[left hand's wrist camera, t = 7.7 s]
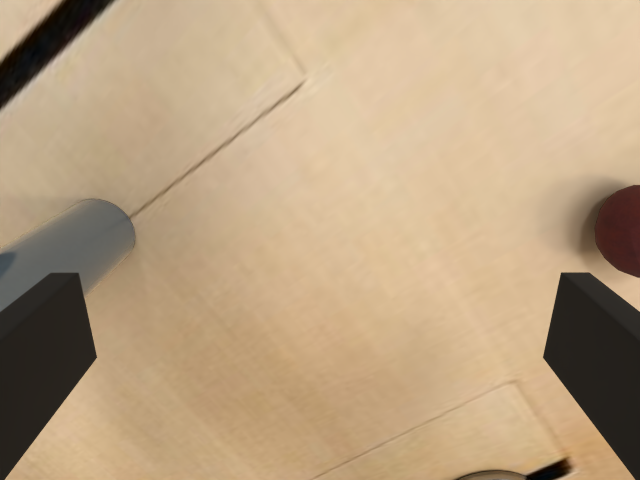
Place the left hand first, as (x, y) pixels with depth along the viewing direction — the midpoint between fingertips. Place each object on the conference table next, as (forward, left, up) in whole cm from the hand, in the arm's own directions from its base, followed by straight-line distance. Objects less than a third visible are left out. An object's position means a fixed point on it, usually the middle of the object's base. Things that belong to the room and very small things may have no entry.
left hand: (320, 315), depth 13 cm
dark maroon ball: (+6, +27, -28) cm, 39 cm away
